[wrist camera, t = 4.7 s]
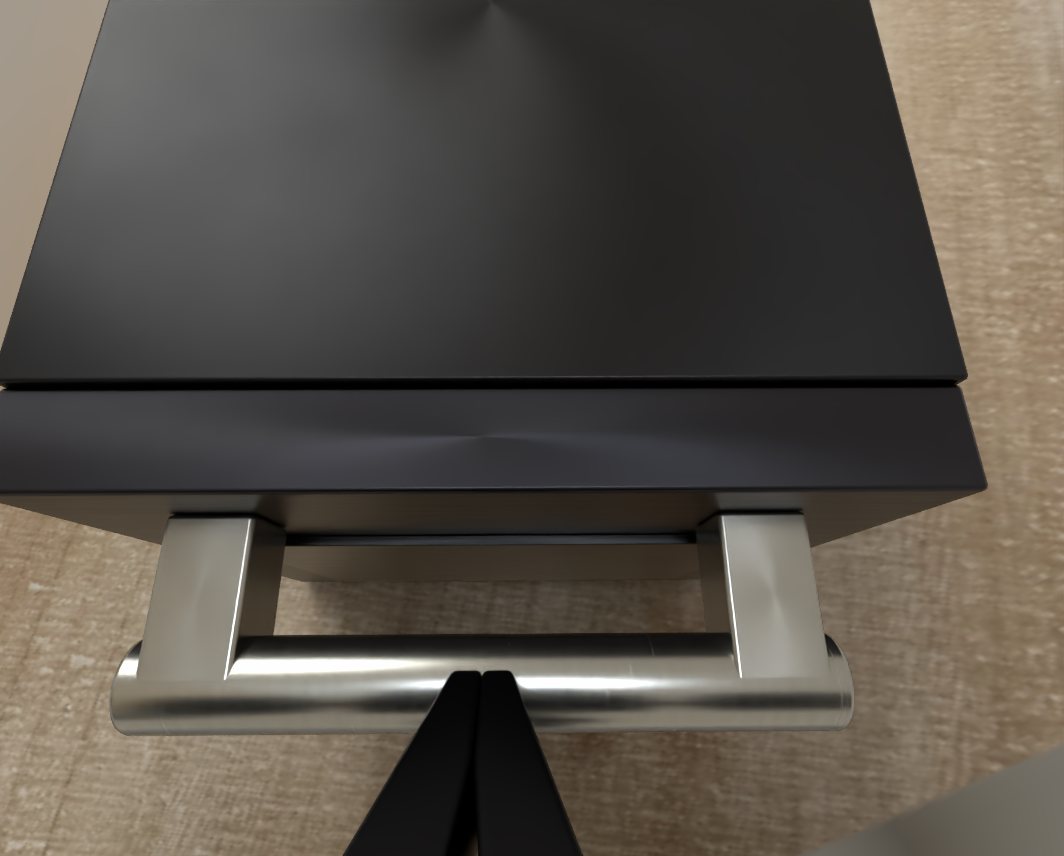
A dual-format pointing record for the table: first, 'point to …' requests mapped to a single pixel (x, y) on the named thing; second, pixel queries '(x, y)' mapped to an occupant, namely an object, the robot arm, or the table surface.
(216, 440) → the oven door
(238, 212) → the oven
